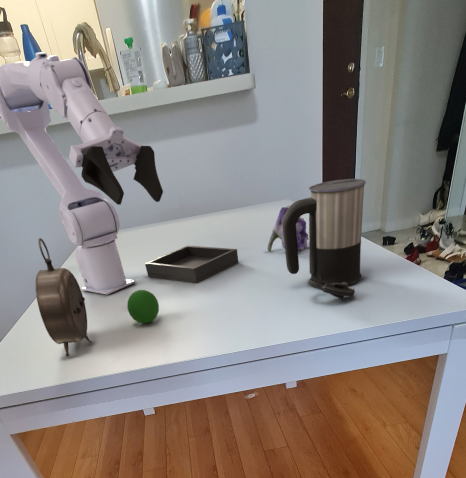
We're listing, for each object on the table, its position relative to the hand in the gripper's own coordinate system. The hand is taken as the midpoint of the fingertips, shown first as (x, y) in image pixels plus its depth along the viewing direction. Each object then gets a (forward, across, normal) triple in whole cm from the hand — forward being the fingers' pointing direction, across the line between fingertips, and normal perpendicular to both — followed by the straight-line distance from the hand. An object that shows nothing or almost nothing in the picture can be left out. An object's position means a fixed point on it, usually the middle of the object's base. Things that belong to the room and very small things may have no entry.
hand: (140, 197), depth 73 cm
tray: (0, +22, +20) cm, 29 cm away
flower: (+7, +39, +9) cm, 41 cm away
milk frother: (+27, +23, -5) cm, 36 cm away
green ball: (+12, -4, +10) cm, 16 cm away
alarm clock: (+13, -15, +16) cm, 26 cm away
